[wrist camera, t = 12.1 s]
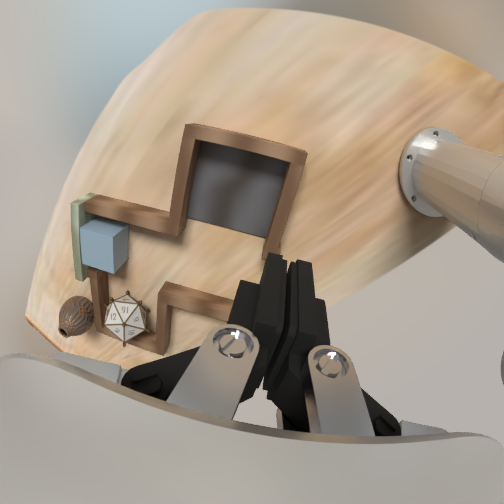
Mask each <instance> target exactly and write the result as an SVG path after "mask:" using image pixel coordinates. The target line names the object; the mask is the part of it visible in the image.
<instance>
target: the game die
mask: <svg viewBox="0 0 504 504" xmlns="http://www.w3.org/2000/svg"><path fill="white" fill-rule="evenodd" d="M128 294H129V291H128V290H127V291H126V295H125V296H122V297H120V298H118V299H115V300H113V298H111V297H110V300H111V301H112V302H111V303H110V304H109V305H108V306H107V305H106V304H104V307H105V308H107V309H106V315H105V320H104V324H101V325H100V326H99V327H104V326H105V327H106V328H107V329H109V330H110V331H111V333H113V334H114V335H116V336H117V337H118V338H119V339H120V340H122V341H123V346H124V347H125V346H126V343H125V342H127V341H128V340H130V339H132V338H133V337H135V336H137V335H138V336H140V333H142V332H143V331H146V332H150V331H149V330H148V329H146V312H149V311H150V310H149V309H148V310H145V309H144V308H143V307H142V306H141V305H140V304H142V301H139V303H138V302H136V301H135V300H134V299H133V298H131V297H130V296H129V295H128Z"/></svg>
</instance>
